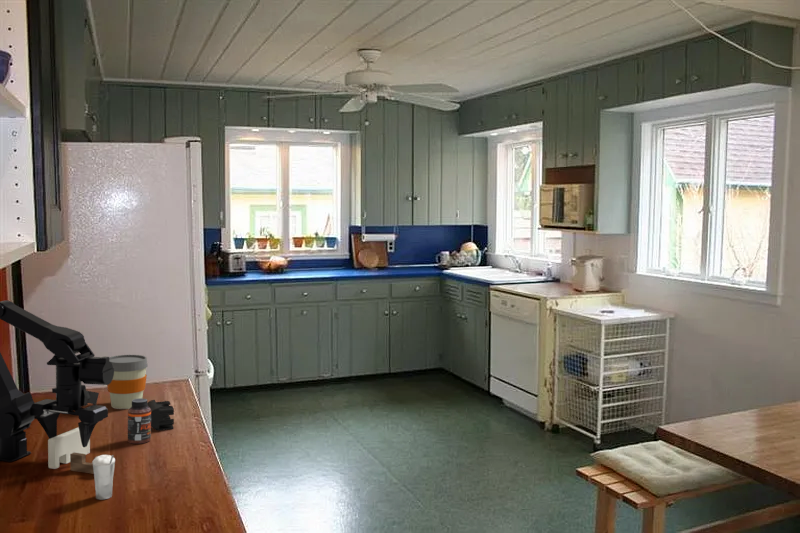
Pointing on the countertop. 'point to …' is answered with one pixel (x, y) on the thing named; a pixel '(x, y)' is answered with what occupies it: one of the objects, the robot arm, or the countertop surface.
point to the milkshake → (103, 476)
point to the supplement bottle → (139, 422)
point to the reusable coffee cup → (127, 380)
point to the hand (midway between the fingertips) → (69, 444)
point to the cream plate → (65, 447)
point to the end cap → (161, 415)
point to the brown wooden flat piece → (80, 463)
